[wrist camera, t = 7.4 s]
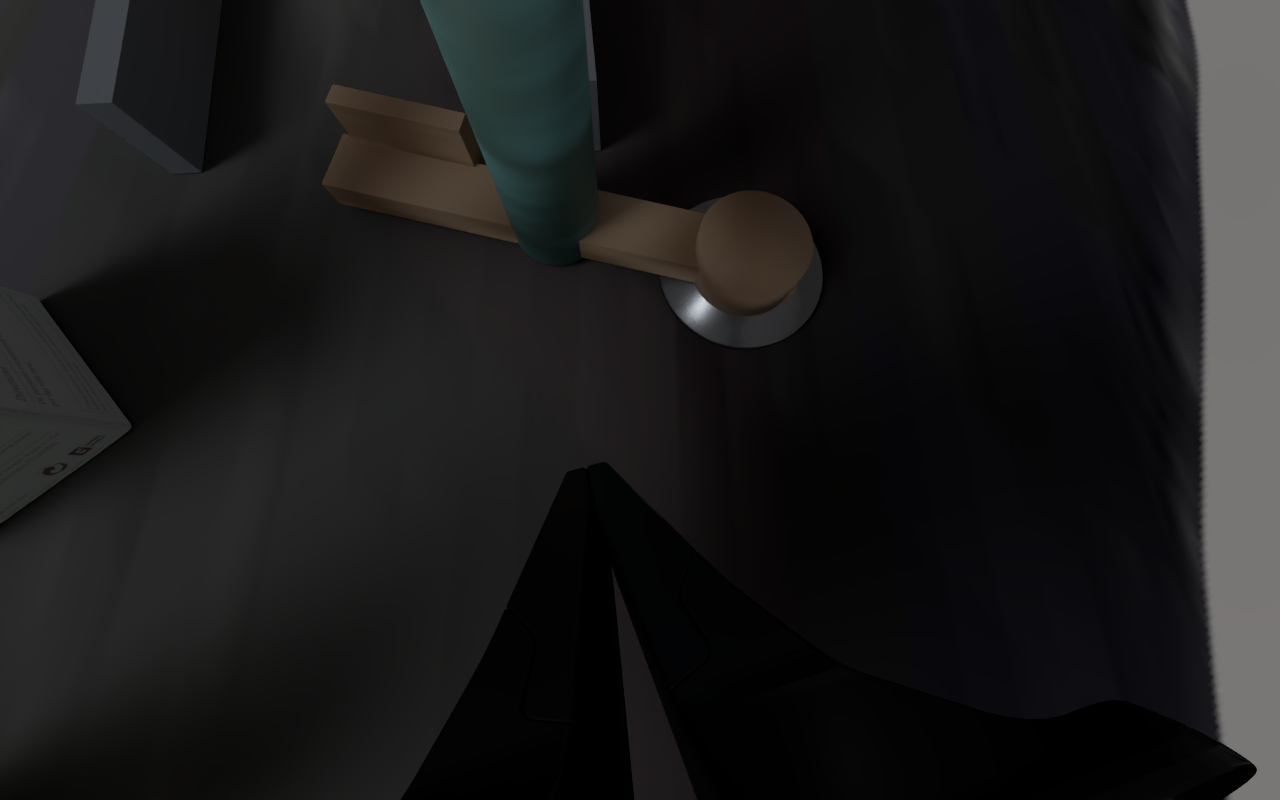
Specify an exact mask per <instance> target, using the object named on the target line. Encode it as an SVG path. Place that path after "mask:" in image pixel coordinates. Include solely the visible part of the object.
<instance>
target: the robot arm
mask: <svg viewBox="0 0 1280 800" xmlns="http://www.w3.org/2000/svg"><path fill="white" fill-rule="evenodd" d="M610 562H611V563H610ZM611 565H612V568H613V571H614V574H615V577H616V580H617V583H618V586H619V589H620V591H621V594H622V597H623V599H624V602H625V605H626V608H627V610H628V613H629V616H630V618H631V621H632V624H633V626H634V629H635V632H636V635H637V637H638V640H639V643H640V645H641V648H642V651H643V654H644V656H645V659H646V662H647V664H648V667H649V670H650V673H651V675H652V678H653V681H654V683H655V686H656V689H657V692H658V694H659V697H660V700H661V702H662V705H663V708H664V711H665V713H666V716H667V719H668V721H669V724H670V727H671V730H672V732H673V735H674V738H675V740H676V743H677V746H678V749H679V751H680V754H681V757H682V759H683V762H684V765H685V768H686V770H687V773H688V776H689V778H690V781H691V784H692V787H693V789H694V792H695V795H696V797H697V800H1222V799H1223V798H1225V797H1226V796H1228V795H1229V794H1231V793H1232V792H1234V791H1235V790H1237V789H1238V788H1239V787H1241V786H1242V785H1243V784H1245V783H1246V782H1248V781H1249V780H1250V779H1251V778H1252V777H1253V776H1254V775H1255V773H1256V771H1257V768H1256V767H1255V765H1254V764H1252V763H1251V762H1250V761H1249V760H1247V759H1246V758H1244V757H1243V756H1241V755H1240V754H1238V753H1237V752H1235V751H1233V750H1232V749H1230V748H1229V747H1227V746H1226V745H1224V744H1222V743H1220V742H1218V741H1216V740H1214V739H1213V738H1211V737H1209V736H1208V735H1206V734H1204V733H1202V732H1200V731H1198V730H1195V729H1193V728H1191V727H1189V726H1187V725H1185V724H1183V723H1181V722H1178V721H1176V720H1173V719H1170V718H1168V717H1165V716H1163V715H1161V714H1158V713H1156V712H1153V711H1150V710H1148V709H1145V708H1143V707H1140V706H1137V705H1135V704H1132V703H1130V702H1126V701H1117V700H1110V701H1104V702H1099V703H1096V704H1093V705H1090V706H1087V707H1084V708H1081V709H1078V710H1076V711H1073V712H1070V713H1068V714H1065V715H1062V716H1058V717H1053V718H1048V719H1019V718H1011V717H1004V716H1000V715H996V714H992V713H988V712H984V711H981V710H978V709H975V708H971V707H968V706H965V705H962V704H959V703H956V702H953V701H950V700H946V699H943V698H940V697H937V696H934V695H931V694H928V693H925V692H921V691H918V690H915V689H912V688H909V687H906V686H903V685H900V684H897V683H893V682H890V681H887V680H884V679H881V678H878V677H875V676H872V675H868V674H865V673H862V672H860V671H857V670H854V669H852V668H850V667H848V666H845V665H843V664H842V663H840V662H838V661H836V660H834V659H832V658H831V657H829V656H828V655H826V654H824V653H823V652H822V651H820V650H819V649H817V648H816V647H815V646H813V645H812V644H810V643H809V642H808V641H806V640H805V639H804V638H802V637H801V636H800V635H798V634H797V633H796V632H794V631H793V630H792V629H790V628H789V627H788V626H786V625H785V624H784V623H782V622H781V621H780V620H779V619H777V618H776V617H775V616H773V615H772V614H771V613H769V612H768V611H767V610H765V609H764V608H763V607H761V606H760V605H759V604H757V603H756V602H755V601H753V600H752V599H751V598H749V597H748V596H747V595H746V594H744V593H743V592H742V591H741V590H739V589H738V588H737V587H736V586H734V585H733V584H732V583H731V582H729V581H728V580H727V579H726V578H725V577H724V576H723V575H722V574H721V573H720V572H718V571H717V570H716V569H715V568H714V567H713V566H712V565H711V564H710V563H709V562H708V561H707V560H706V559H705V558H704V557H703V556H702V555H701V554H700V553H699V552H696V551H695V549H694V548H693V547H692V546H691V545H690V544H689V543H688V542H687V541H686V540H685V539H684V538H683V537H682V536H681V535H680V534H679V533H678V532H677V531H676V530H675V529H674V528H673V527H672V526H671V525H670V524H669V523H668V522H667V521H666V520H665V519H664V518H663V517H662V516H661V515H660V514H659V513H658V512H657V511H655V510H654V509H653V508H652V507H651V506H650V505H649V504H648V503H647V502H646V501H645V500H644V499H643V498H642V497H641V496H640V495H639V494H638V493H637V492H636V491H635V490H634V489H633V488H632V487H631V486H630V485H629V484H628V483H627V482H626V481H625V480H624V479H623V478H622V477H621V476H620V475H619V474H618V473H617V472H616V471H615V470H614V469H613V468H612V467H611V466H610V465H609V464H608V463H606V462H601V463H597V464H594V465H590V466H588V468H587V469H586V468H579V469H576V470H572V471H569V472H567V473H566V475H565V477H564V479H563V481H562V484H561V486H560V488H559V490H558V493H557V495H556V497H555V499H554V502H553V504H552V506H551V508H550V510H549V513H548V515H547V517H546V519H545V522H544V524H543V526H542V528H541V531H540V533H539V535H538V537H537V539H536V542H535V544H534V546H533V548H532V551H531V553H530V555H529V557H528V560H527V562H526V564H525V566H524V569H523V571H522V573H521V575H520V577H519V580H518V582H517V584H516V586H515V589H514V591H513V593H512V595H511V598H510V600H509V602H508V604H507V609H506V610H504V613H503V615H502V617H501V619H500V622H499V624H498V626H497V628H496V630H495V632H494V635H493V637H492V639H491V641H490V643H489V645H488V647H487V649H486V651H485V653H484V655H483V657H482V659H481V661H480V663H479V665H478V667H477V668H476V670H475V672H474V674H473V676H472V678H471V679H470V681H469V683H468V685H467V687H466V689H465V690H464V692H463V694H462V696H461V697H460V699H459V701H458V703H457V704H456V706H455V708H454V710H453V711H452V713H451V715H450V717H449V718H448V720H447V722H446V724H445V725H444V727H443V729H442V731H441V732H440V734H439V736H438V738H437V739H436V741H435V743H434V745H433V746H432V748H431V750H430V752H429V753H428V755H427V757H426V759H425V760H424V762H423V764H422V766H421V767H420V769H419V771H418V772H417V774H416V776H415V778H414V779H413V781H412V783H411V784H410V786H409V787H408V789H407V791H406V792H405V794H404V795H403V797H402V798H401V800H634V792H633V782H632V771H631V761H630V750H629V740H628V730H627V719H626V709H625V698H624V688H623V678H622V667H621V657H620V646H619V636H618V626H617V615H616V605H615V594H614V584H613V575H612V568H611Z"/></svg>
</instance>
